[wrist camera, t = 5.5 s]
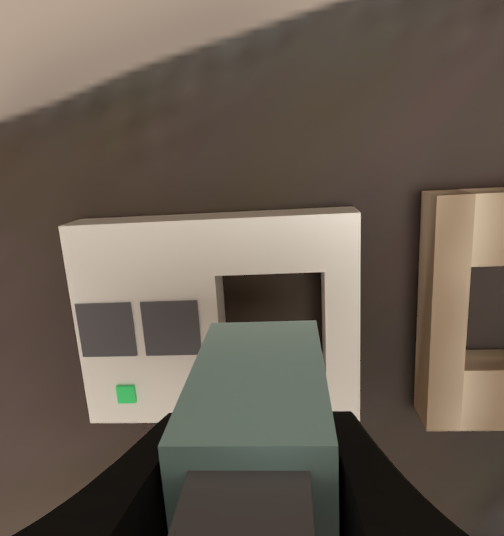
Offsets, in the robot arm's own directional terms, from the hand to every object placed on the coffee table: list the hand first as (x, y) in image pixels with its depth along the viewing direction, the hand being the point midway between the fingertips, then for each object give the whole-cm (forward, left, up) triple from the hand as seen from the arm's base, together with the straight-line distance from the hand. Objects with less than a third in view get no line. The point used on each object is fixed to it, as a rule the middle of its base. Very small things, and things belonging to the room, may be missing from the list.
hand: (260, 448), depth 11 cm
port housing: (+2, 0, -10) cm, 10 cm away
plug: (0, 0, -3) cm, 3 cm away
